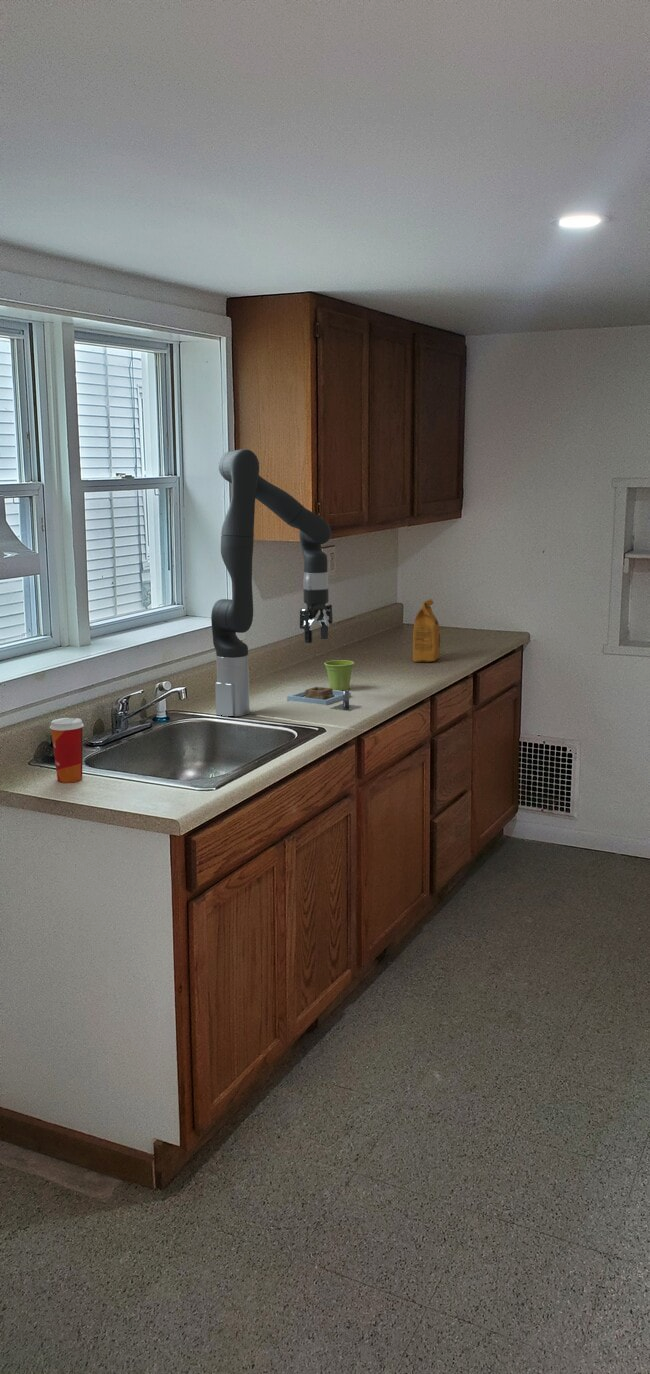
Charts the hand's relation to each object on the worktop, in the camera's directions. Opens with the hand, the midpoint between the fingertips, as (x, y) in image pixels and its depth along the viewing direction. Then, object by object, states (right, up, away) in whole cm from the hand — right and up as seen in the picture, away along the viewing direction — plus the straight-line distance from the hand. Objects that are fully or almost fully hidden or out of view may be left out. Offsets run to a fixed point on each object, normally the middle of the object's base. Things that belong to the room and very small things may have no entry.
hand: (316, 640), depth 333 cm
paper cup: (-57, -36, -78) cm, 103 cm away
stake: (+9, -21, -10) cm, 25 cm away
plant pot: (+7, -15, +20) cm, 26 cm away
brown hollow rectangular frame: (+1, -18, +3) cm, 18 cm away
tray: (+1, -18, +3) cm, 19 cm away
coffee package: (+40, -4, +70) cm, 80 cm away
